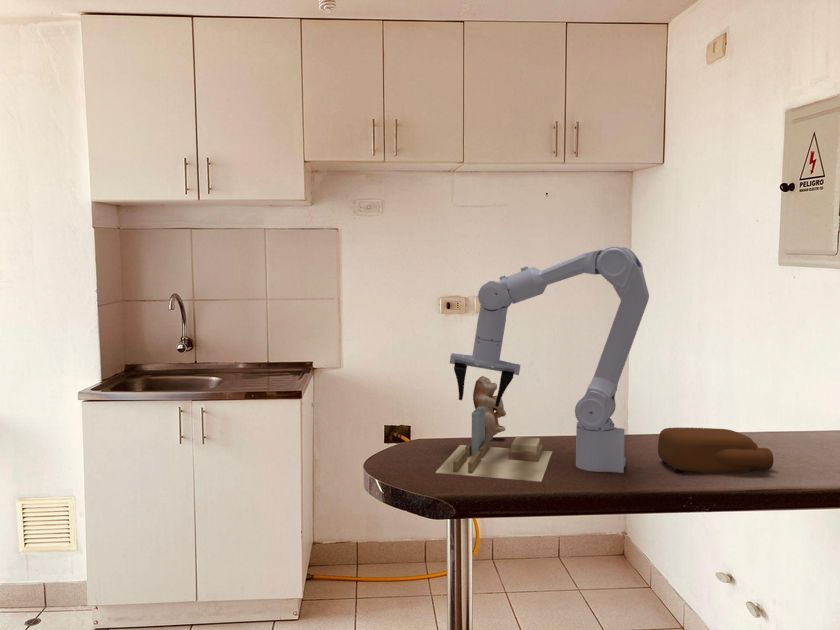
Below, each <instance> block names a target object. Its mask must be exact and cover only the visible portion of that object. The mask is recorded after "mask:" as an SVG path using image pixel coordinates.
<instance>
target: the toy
mask: <svg viewBox="0 0 840 630" xmlns="http://www.w3.org/2000/svg"><path fill="white" fill-rule="evenodd" d="M657 453H658V457H659V458H660V460H661V463H662V464H664V465H665V464H668V466H670V467H672V468H674V470H675V472H676V473H677V474H684V473H685V472H695V473H696V472H697V473H698V472H699V473H723V474H724V473H726V474H744V473H747V472H749V471H752V470H763V471H764V470H771V469H772V468H773V466H774V461H775V460H774V455H773V451H772V450H771V449H770V448H768V447H758V445H757V443H756V442H754V440H753V439H752V438H751V437H749V436H747V435H746V434H743V433H740V432H738V431H736V430H735V431H734V430H732V429H727V428H708V427H665V428H664V429H662V430H661V431H660V432H659V436H658V441H657Z"/></svg>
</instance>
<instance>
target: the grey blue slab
mask: <svg viewBox="0 0 840 630" xmlns="http://www.w3.org/2000/svg"><path fill="white" fill-rule="evenodd" d="M471 440H472V449H471V456H474V454H475V453H476V452H477V451H479V448H480V447H481V445H482V444H483V443H484V442H485V407H477V408H476V409H474V410H473V412H471Z"/></svg>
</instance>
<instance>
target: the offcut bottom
mask: <svg viewBox="0 0 840 630" xmlns="http://www.w3.org/2000/svg"><path fill="white" fill-rule="evenodd" d="M542 451H543V444H540V446H539V448H538V451H537V453H536V454H533V453H519V452H511V449H510V451H509V454H508V460H520V461H533V462H538V461H539V459H540V456H541V454H542Z"/></svg>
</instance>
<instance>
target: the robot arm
mask: <svg viewBox="0 0 840 630" xmlns="http://www.w3.org/2000/svg"><path fill="white" fill-rule="evenodd" d="M582 274H587V275H600V276H602V277H603V278H604V279H605V280H606V281H607V282H608V283H609V284H611V285H612V287H613V288H614V291H615V292H616V294H617V296H618V297H619V299H620V303H619V305H618V308H617V311H616V313H615V317H614V319H613V321H612V325H611V328H610V330H609V333H608V335H607V338H606V341H605V344H604V347H603V349H602V352H601V355H600V357H599V361H598V363H597V367H596V369H595V372H594V374H593V377H592V379H591V381H590V383H589V384H588V387H587V390H586V392H585V394H584V396H583V397H582V398H581V399H579V400H578V401H577V403H576V404H575V407H574V414H575V415H574V416H575V418H576V420H577V421H576V426H575V427H576V431H575V432H576V434H575V435H576V436H575V437H576V439H575V445H576V446H575V467H576V468H578V469H579V470H582V471H587V472H597V473H599V472H601V473H602V472H603V473H604V472H606V473H620V474H621V473H622V474H624V472H625V469H624V468H625V467H626V466H627V465H626V464H627V462H626V461H627V459H626V458H627V457H626V456H625V428H623V427H621V428H620V427H615V423H614V422H613V420H612V418H611V417H612V416H613V414H614V413H615V411H616V394H617V391H618V387H619V386H618V385H619V381H620V379H621V377H622V376H621V375H622V374H623V370H624V367H625V365H626V362H627V361H628V356H629V354H630V351H631V348H632V345H633V343H634V340H635V338H636V335H637V332H638V329H639V327H640V325H641V322H642V319H643V316H644V313H645V311H646V308H647V305H648V303H649V300H650V299H649V298H650V294H649V289H648V286H647V282H646V278H645V277H646V276H645V274H644V270H643V263H642V262H641V261H640V259H639V258H638V256H637V255H636V254H635V253H634V251H633V250H631V249H630V248H627V247H621V246H615V245H614V246H609V247H606V248H605V249H597V250H593V251H588V252H584V253H582V254H579V255H577V256H574V257H572V258H569V259H568V260H564V261H562V262H560V263H558V264H555V265H552V266H550V267H547V268H545V269H539V268H536V267H535V266H531V267H529V266H523V267H521V268H520V271H518V272H516V273H514V274H513V273H512V274H510V275H508V276H506V275H501V276H499V281H496V280H489V281H487V282H486V283H484V284H483V285H481V287H480V288H479V290H478V293H477V299H478V302H479V304H480V305H479V306H480V307H479V313H478V316H477V317H478V318H477V322H476V323H477V324H476V330H475V337H474V343H473V349H472V353H471V354H472V355H471V354H462V353H454V352H453V353H452V352H451V354H450V358H449V364H452V365H454V366H453V371H454V374H455V376H456V377H455V378H456V381H457V387H458V401H463V398H464V390H465V388H464V387H465V381H466V380H465V379H466V375H467V369H468V367H473V368H478V369H484V370H489V371H496V372H501V374H500V379H499V380H500V381H499V387H498V389H497V390H498V392H497V395H496V396H497V398H496V404H495V406H497V407H499V403H500V400H501V399H503V395H504V394H505V391H506V389H507V388H508V386H509V385H510V383H512V381H513V379H514V375H515V376H519V375H520V371H521V364H519V363H514V362H509V361H506V360H505V361H504V360H500V359H501V352H502V349H503V348H502V346H503V342H504V341H503V340H504V334H505V329H506V322H507V314H508V308H509V307H510V306H511V305H512V304H513V305H515V304H517V303H520V302H524V301H526V300H528V299H532V298H534V297H538V296H540V295H543V294H544V292H545V291H546V288H547V287H548V285H551V284H555V283H558V282H562V281H564V280H568V279H570V278H574V277H577V276H580V275H582Z"/></svg>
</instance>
